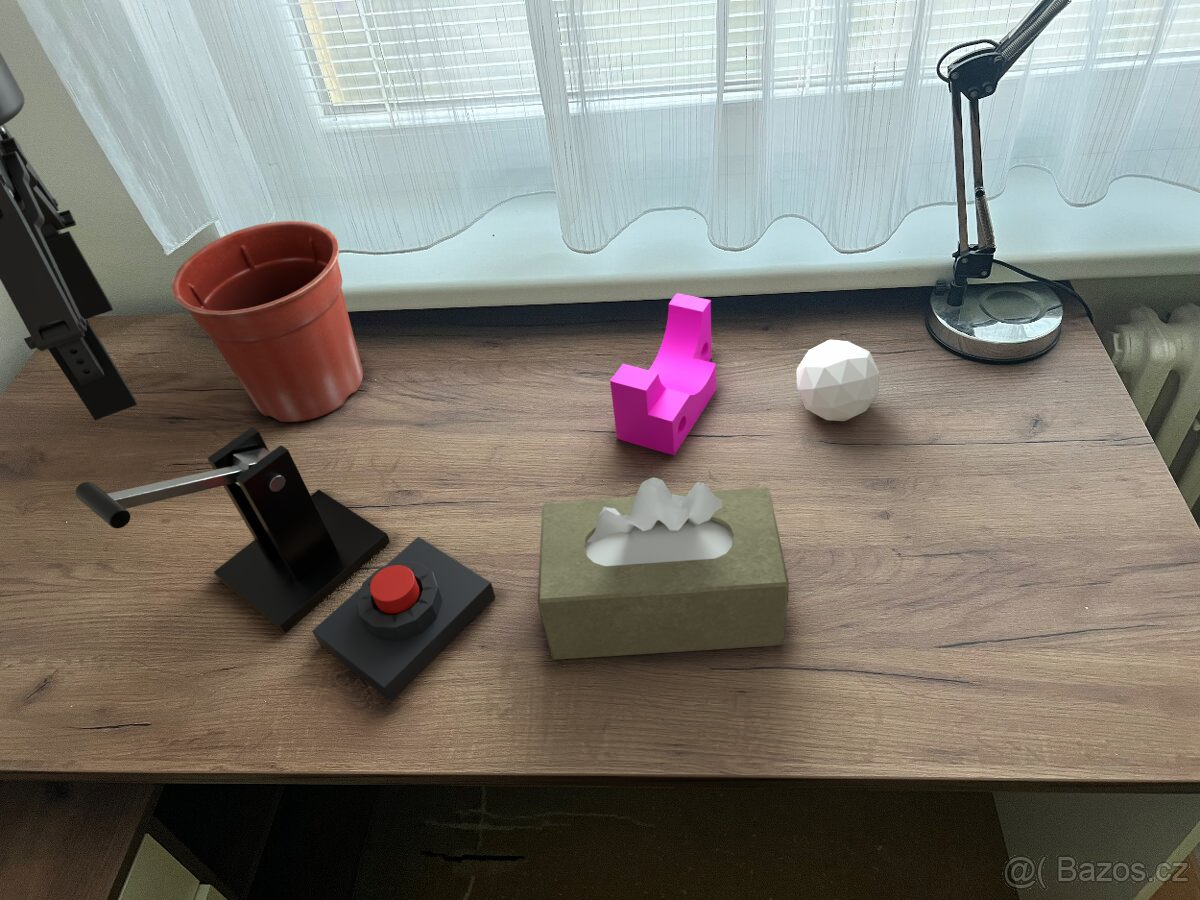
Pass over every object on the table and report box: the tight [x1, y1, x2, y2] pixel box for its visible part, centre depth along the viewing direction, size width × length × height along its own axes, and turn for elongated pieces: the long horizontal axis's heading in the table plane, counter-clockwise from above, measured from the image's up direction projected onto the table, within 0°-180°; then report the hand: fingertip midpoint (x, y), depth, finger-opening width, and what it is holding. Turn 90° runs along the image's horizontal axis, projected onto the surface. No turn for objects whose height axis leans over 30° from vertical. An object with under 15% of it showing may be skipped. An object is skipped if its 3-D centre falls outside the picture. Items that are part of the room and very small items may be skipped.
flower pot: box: [170, 220, 364, 423], centre depth 92 cm, size 16×16×16 cm
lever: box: [74, 448, 272, 529], centre depth 67 cm, size 14×5×2 cm, turn 143°
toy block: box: [609, 292, 717, 456], centre depth 87 cm, size 15×6×8 cm, turn 151°
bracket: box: [207, 426, 391, 634], centre depth 75 cm, size 12×10×14 cm
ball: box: [795, 339, 880, 422], centre depth 84 cm, size 8×8×8 cm
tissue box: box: [537, 476, 790, 661], centre depth 67 cm, size 19×10×16 cm, turn 90°
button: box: [370, 565, 419, 614], centre depth 70 cm, size 4×4×2 cm
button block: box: [311, 536, 496, 702], centre depth 72 cm, size 12×9×4 cm
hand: (104, 358), depth 63 cm, fingers open, 13 cm apart
